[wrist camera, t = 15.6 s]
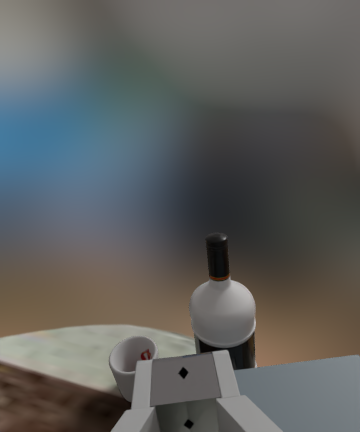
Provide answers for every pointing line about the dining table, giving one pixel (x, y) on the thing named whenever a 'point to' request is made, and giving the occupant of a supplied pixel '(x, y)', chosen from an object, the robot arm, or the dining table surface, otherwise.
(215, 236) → the vodka
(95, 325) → the dining table surface
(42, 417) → the dining table surface
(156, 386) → the robot arm
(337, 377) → the console
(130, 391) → the cup
